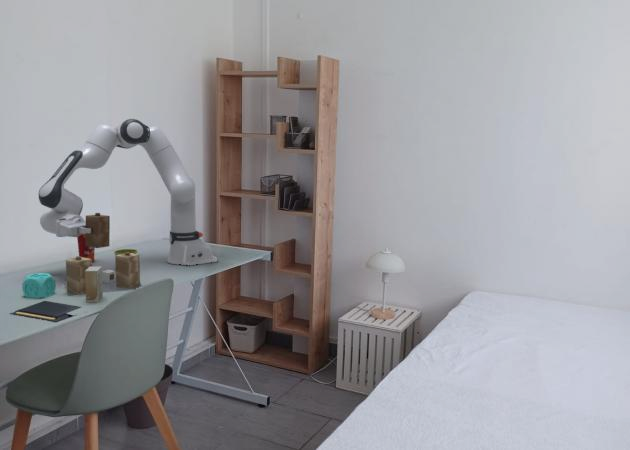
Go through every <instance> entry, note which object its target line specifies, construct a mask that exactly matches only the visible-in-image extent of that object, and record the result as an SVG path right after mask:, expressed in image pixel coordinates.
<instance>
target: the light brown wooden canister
mask: <svg viewBox="0 0 630 450" xmlns="http://www.w3.org/2000/svg"><path fill="white" fill-rule="evenodd" d="M89 267H93V263H92V259H89V258H83V257H81V256H79V255H78V256H76V257H73V258H68V259H65V271H66V275H65V276H66V282H67V292H70V293H74V294H79V295H78V296H81V295H80V294H83V293H86V284H85V270H86V269H87V268H89ZM67 292H66V293H67ZM83 295H84V294H83Z"/></svg>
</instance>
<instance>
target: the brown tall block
mask: <svg viewBox="0 0 630 450" xmlns="http://www.w3.org/2000/svg"><path fill="white" fill-rule="evenodd" d="M114 257H115V259H114V260H115V271H116V286H118V287H123V288H127V289H129V288H132V287H135V286H138V285H140V283H141V267H140V263H141V262H140V254H138V253H136V254H133V253H130V252H125V253H123V254H119V255H114Z"/></svg>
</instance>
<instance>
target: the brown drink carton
mask: <svg viewBox="0 0 630 450" xmlns="http://www.w3.org/2000/svg"><path fill="white" fill-rule="evenodd" d="M110 220H111V219H110V215H105V214H101V213H100V212H95V214H89V215H85V221H86V228H92V229H93V233H86V246H87V247H93V248H95V249H100V248H101V249H102V248H107V247H110V236H111V234H110V232H111V231H110V226H111V225H110V224H111V223H110Z"/></svg>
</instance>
